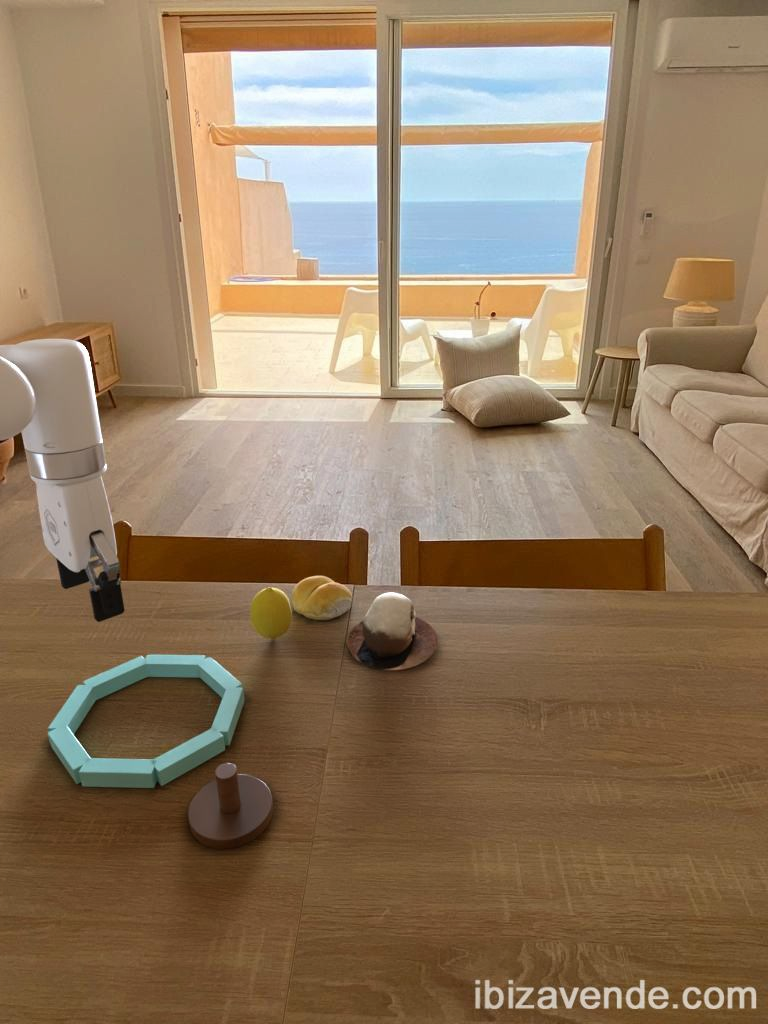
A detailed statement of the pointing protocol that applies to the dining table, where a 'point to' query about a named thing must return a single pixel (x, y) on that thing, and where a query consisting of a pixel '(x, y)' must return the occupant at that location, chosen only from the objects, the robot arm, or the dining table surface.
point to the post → (230, 809)
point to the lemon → (271, 613)
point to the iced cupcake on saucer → (392, 635)
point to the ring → (171, 762)
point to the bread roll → (321, 598)
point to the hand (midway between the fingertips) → (92, 600)
